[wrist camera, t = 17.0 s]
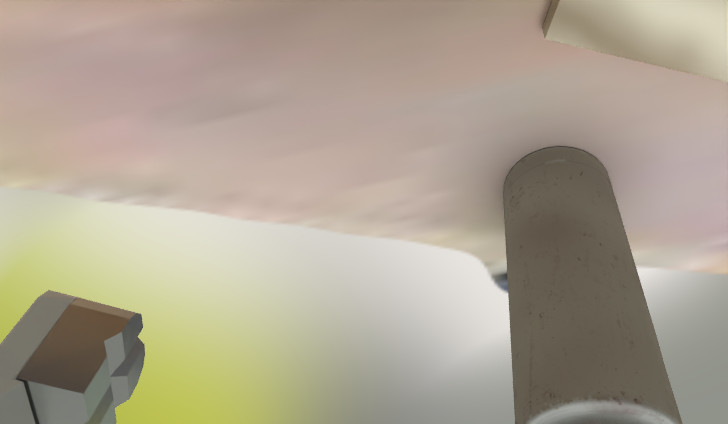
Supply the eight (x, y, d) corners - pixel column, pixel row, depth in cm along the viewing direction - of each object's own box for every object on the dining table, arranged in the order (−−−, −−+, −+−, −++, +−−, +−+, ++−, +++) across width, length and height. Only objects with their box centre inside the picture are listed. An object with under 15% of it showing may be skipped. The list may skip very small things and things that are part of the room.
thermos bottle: (606, 227, 49) (710, 623, 27) (505, 231, 50) (524, 605, 29) (613, 142, 44) (745, 536, 22) (501, 150, 46) (520, 522, 24)
